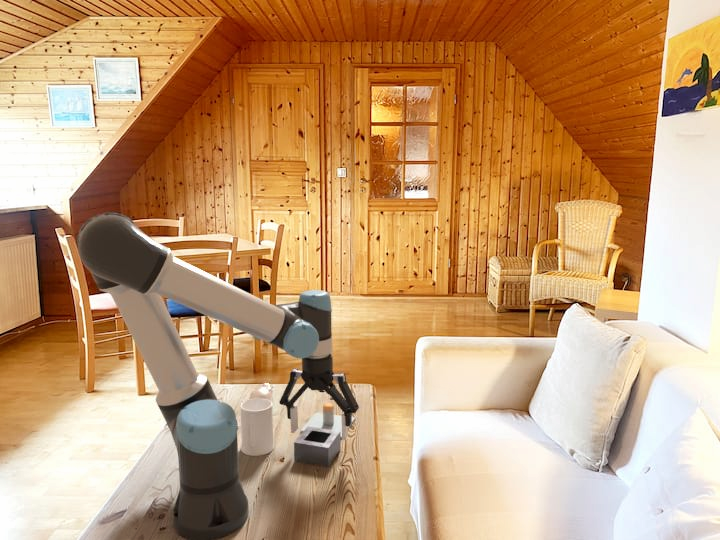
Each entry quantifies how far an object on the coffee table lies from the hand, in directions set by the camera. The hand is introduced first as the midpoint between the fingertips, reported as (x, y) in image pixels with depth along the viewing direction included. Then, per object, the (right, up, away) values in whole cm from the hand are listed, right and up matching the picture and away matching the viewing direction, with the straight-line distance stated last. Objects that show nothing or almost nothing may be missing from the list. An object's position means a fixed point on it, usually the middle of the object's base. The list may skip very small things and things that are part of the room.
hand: (319, 434), depth 137 cm
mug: (-17, -5, +3) cm, 18 cm away
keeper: (+1, -3, +17) cm, 17 cm away
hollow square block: (0, -6, +1) cm, 6 cm away
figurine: (-19, -1, +29) cm, 35 cm away
